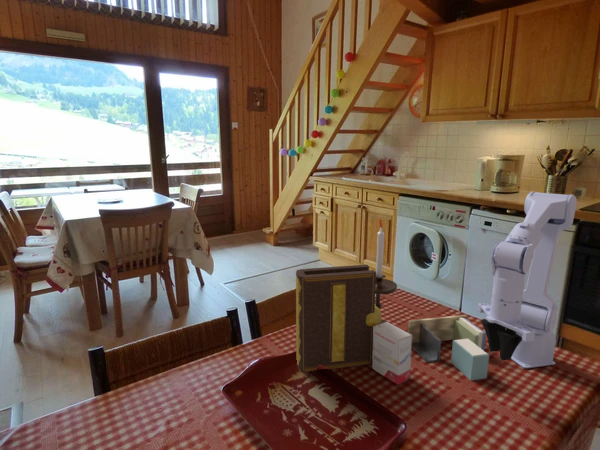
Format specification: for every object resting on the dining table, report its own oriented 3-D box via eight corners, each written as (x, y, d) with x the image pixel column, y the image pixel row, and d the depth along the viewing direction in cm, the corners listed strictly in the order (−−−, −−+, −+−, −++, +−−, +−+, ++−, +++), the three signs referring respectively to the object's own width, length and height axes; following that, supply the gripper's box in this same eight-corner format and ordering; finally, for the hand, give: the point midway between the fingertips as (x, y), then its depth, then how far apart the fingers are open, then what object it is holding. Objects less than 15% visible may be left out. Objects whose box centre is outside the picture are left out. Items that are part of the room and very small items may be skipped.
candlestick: (367, 338, 109) (372, 222, 102) (353, 321, 119) (357, 215, 112) (401, 334, 111) (408, 220, 104) (384, 318, 122) (390, 213, 114)
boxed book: (465, 360, 98) (468, 337, 97) (486, 378, 90) (489, 354, 89) (450, 362, 97) (453, 339, 96) (470, 380, 89) (473, 356, 88)
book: (300, 375, 91) (300, 279, 86) (294, 356, 99) (293, 268, 94) (384, 364, 96) (388, 273, 91) (371, 347, 104) (374, 262, 99)
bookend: (421, 343, 106) (422, 323, 105) (439, 361, 97) (441, 340, 96) (409, 344, 106) (411, 325, 104) (426, 362, 97) (428, 341, 95)
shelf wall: (463, 336, 110) (465, 314, 108) (464, 338, 109) (466, 316, 108) (406, 342, 106) (408, 320, 105) (408, 344, 106) (409, 321, 104)
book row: (462, 338, 109) (464, 316, 107) (483, 355, 100) (486, 331, 98) (452, 339, 108) (454, 317, 107) (473, 356, 99) (475, 332, 98)
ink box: (411, 379, 90) (414, 334, 87) (396, 386, 87) (399, 340, 85) (384, 362, 97) (386, 320, 95) (370, 368, 94) (372, 325, 92)
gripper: (468, 286, 86) (463, 340, 88) (516, 313, 72) (508, 376, 75) (495, 284, 87) (489, 337, 90) (547, 310, 73) (538, 372, 76)
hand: (499, 354), depth 82 cm, fingers open, 3 cm apart
